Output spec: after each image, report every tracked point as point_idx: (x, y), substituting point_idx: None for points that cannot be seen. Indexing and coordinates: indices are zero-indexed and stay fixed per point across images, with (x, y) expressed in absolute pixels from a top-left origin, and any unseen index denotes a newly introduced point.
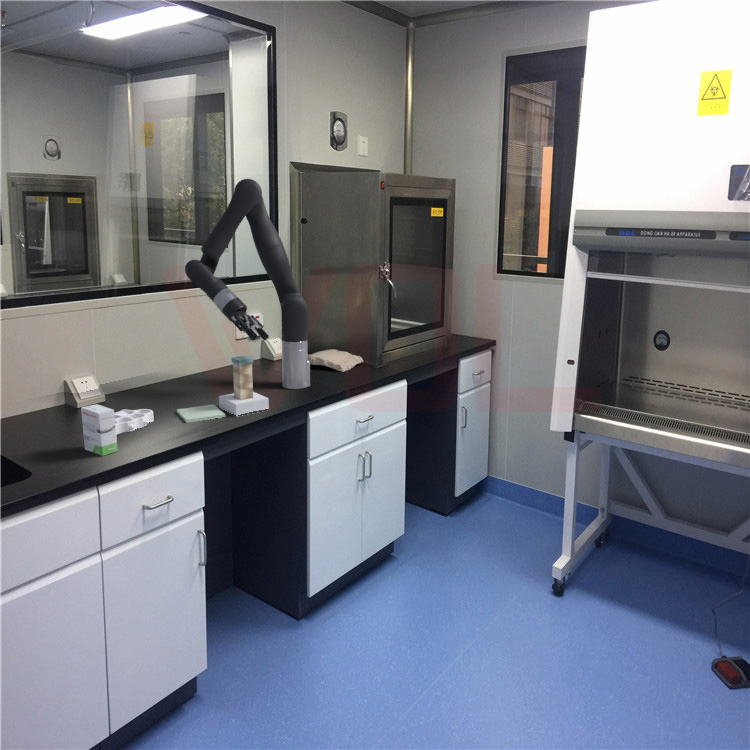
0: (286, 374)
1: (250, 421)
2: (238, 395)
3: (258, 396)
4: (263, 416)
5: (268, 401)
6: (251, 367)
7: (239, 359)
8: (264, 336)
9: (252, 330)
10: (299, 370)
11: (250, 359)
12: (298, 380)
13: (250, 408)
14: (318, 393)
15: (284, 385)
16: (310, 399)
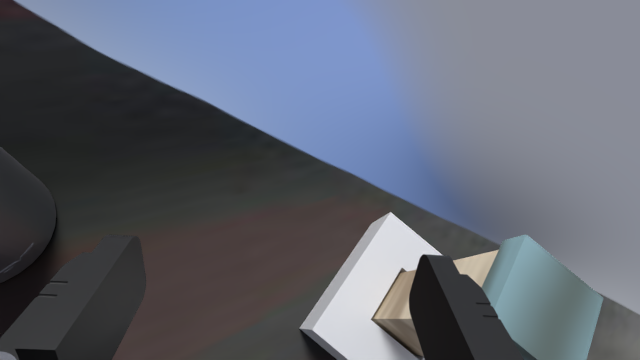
0: (9, 236)
1: (482, 239)
2: None
3: (383, 257)
4: (431, 218)
5: (385, 216)
6: (490, 255)
7: (588, 305)
8: (125, 288)
9: (476, 324)
10: (4, 153)
11: (536, 247)
12: (33, 180)
13: None
14: (116, 105)
15: (24, 264)
16: (211, 120)
